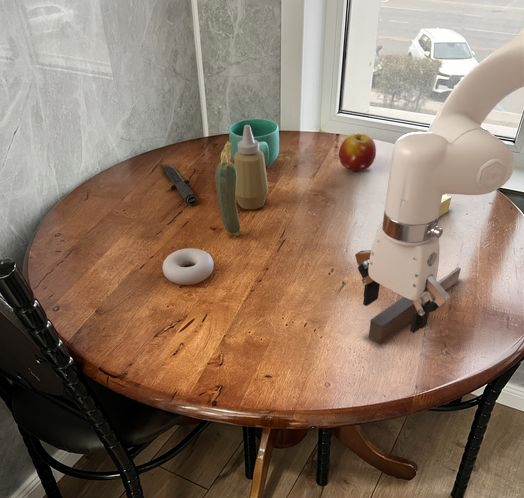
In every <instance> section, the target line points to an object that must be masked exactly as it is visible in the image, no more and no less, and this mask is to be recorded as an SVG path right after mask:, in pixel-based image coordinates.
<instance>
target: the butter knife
mask: <svg viewBox="0 0 524 498" xmlns="http://www.w3.org/2000/svg"><path fill="white" fill-rule="evenodd" d="M461 270H462V267H460V266H457V267H455V268H454V269H453V270H452V271H450V272H449V273H448V274H446V275H445V276H443V277H442V278H441V279H439V280H437V282H438V283H439V284H440V285H441V286H442V287H443V289H444V290H445V291H446V290H448V289H449V288H451V287H452V286H453V285H455V284H456V283H457V282H459V277H460V273H461ZM428 292H429V294H430V296H431V298H432V301H433V300H435V296H434V295H433V294H432V293H431V292H430V291H428ZM420 299H421V301H422V303H423V304H425V303H424V301H423V298H422V297H421V298H420ZM415 311H417V310H416V308H415V306H414V303H413V301H412V300H410V299H407V298H405V297H403V296H401V298H400V299H398V300H397V301H395V302H394V303H392V304H391V305H390V306H388V307H387V308H385V309H384V310H383V311H381V312H380V313H378V314H377V315H375V316H373V318H371V319H370V323H369V330H368V339H369V340H371V341H372V342H374V343H376V344H378V345H380V346H381V344H383V343H384V342H385V341H387V340H388V339H389V338H391V337H392V336H393V335H395V334H396V333H397V332H399V331H401V330H402V329H403V328H404V327H406V326H407V325H408V324H409V323H411V322H412V318H413V314H414V312H415Z"/></svg>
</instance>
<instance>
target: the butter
mask: <svg viewBox="0 0 524 498" xmlns="http://www.w3.org/2000/svg"><path fill="white" fill-rule="evenodd" d="M451 200H452V196H451V195H449V194H443V196H442V200H441V205H440V209H439V214H438V218H440V217H441V216H444V215H445V214H446V213H448V212H449V211H450V207H451V206H450V205H451Z"/></svg>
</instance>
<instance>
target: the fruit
mask: <svg viewBox="0 0 524 498" xmlns="http://www.w3.org/2000/svg"><path fill="white" fill-rule="evenodd" d="M376 146H377V145H376V143H375V140H374V139H373V138H372V137H371V136H370V135H368V134H366V133H361V132H354V133H351V134H349V135H348V136H347V137H346V138H344V140H343V141H342V143H341V144H340V146H339V149H338V159H339V162H340V164H341V166H342V167H344V169H347V170H350V171H354V172H361V171H365V170H367V169H368V168H370V167H371V166H372V164H373V163H374V162H375V159H376V155H377V147H376Z"/></svg>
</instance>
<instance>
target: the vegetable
mask: <svg viewBox="0 0 524 498" xmlns="http://www.w3.org/2000/svg"><path fill="white" fill-rule="evenodd" d="M231 147H232V143H231V142H230V140H227V141H226V143H225V144H224V146H223V148H222V151H221V153H220V162H219V163H217V166H216V169H215V173H214V174H215V188H216V194H217V202H218V206H219V211H220V217H221V221H222V224H223V226H224V229H225V230H226V232H228V233H229V234H231V235H233V236H236V237H239V235H240V234H241V233H242V232H241V222H240V218H239V213H238V212H239V211H238V208H237V204H236V196H235V192H236V182H237V171H236V167H235V165H234V162H232V161H230V160H231V158H232V155H231V149H230V148H231Z"/></svg>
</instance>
